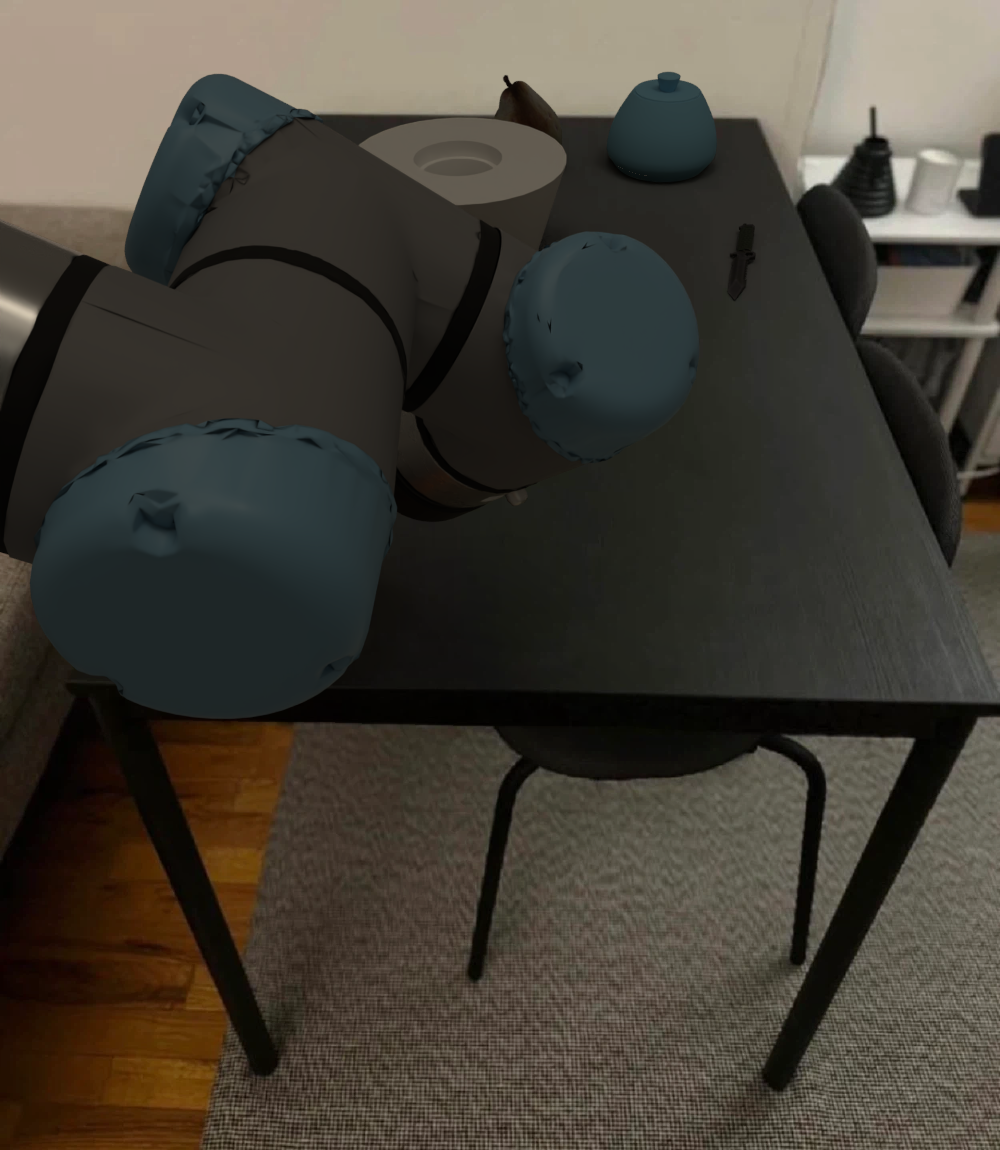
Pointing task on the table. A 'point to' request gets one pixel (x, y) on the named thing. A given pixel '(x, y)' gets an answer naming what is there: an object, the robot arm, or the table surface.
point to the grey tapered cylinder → (481, 168)
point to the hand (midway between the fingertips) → (331, 509)
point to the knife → (741, 260)
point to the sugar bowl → (663, 131)
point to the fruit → (528, 109)
